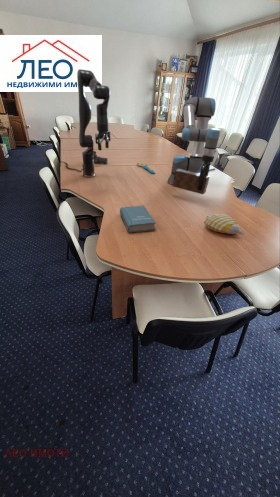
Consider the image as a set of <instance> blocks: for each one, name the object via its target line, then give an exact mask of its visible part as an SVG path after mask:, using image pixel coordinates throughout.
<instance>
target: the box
mask: <svg viewBox="0 0 280 497" xmlns="http://www.w3.org/2000/svg"><path fill="white" fill-rule="evenodd" d="M199 176H200V173H195V172H191V171H186V170H182V169H177V170H175V175H174V181H173V185H172V187H174V188H177V189H179V190H184V191H188V192H191V193H195V194H198V195H204V194H206V193H207V189H208V184H209V181H210V178H211V177H210V176H211V175H209V174H208V175H205V176H204V179H203V185H202V189H201V190H197V189H198V184H199V181H198V180H199Z"/></svg>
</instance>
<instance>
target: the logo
mask: <svg viewBox="0 0 280 497" xmlns="http://www.w3.org/2000/svg"><path fill="white" fill-rule="evenodd" d="M137 166H138V167H141V168H143V169H145V170H146V171H147V172H149V173H150V174H152V175H153V174H154V175H155V174H156V172H155V171H154V170H152V169H150V168H149V166H147V163H144V162H142V163H141V162H137Z"/></svg>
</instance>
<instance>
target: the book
mask: <svg viewBox="0 0 280 497" xmlns="http://www.w3.org/2000/svg"><path fill="white" fill-rule="evenodd" d="M119 214H120V217H121V219H122V221H123V223H124V226H125V227H126V230H127V232H128V233H141V232H151V231H155V230H156V229H155V224H156V221H155V220H154V218H153V217H152V215H151V214H150V212H149V211H148V209H147V207H146V206H145V205H135V206H134V205H133V206H124V207H123V206H122V207H120V208H119Z"/></svg>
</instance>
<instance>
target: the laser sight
mask: <svg viewBox="0 0 280 497" xmlns="http://www.w3.org/2000/svg"><path fill="white" fill-rule="evenodd" d="M93 157H94V164H105V165H106V164H108V158H107V157H101V156H98V154H97V151H96V150H94V153H93Z"/></svg>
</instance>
